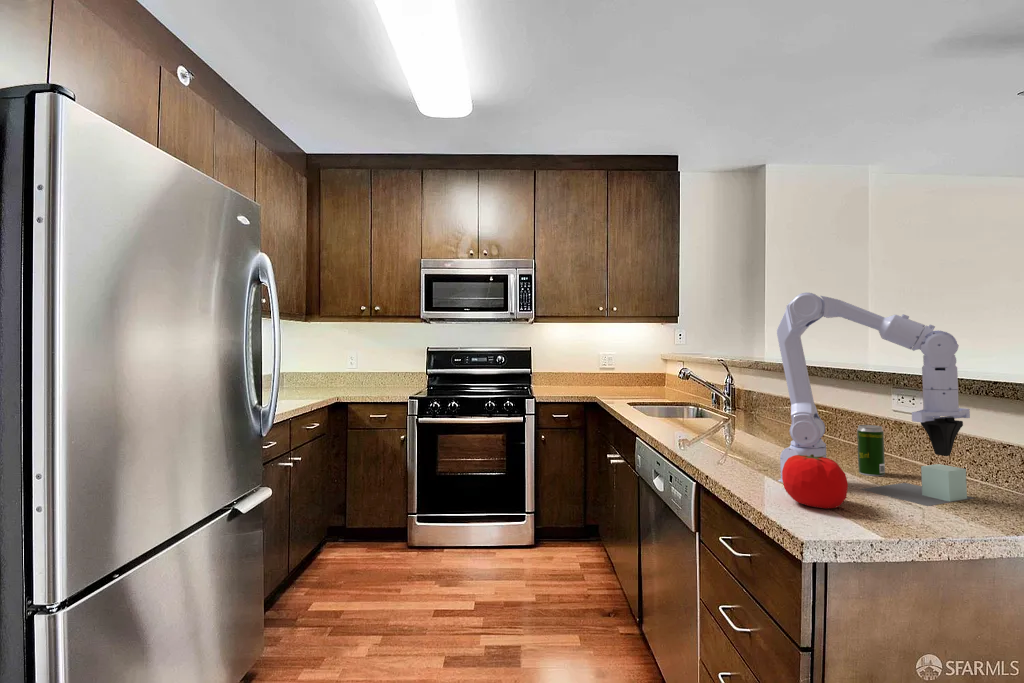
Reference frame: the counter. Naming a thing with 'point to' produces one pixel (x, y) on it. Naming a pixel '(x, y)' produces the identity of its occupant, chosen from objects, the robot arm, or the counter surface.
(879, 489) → the rubber mat
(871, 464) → the beer can
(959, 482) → the pale green block
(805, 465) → the tomato
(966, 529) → the counter surface
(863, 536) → the counter surface
